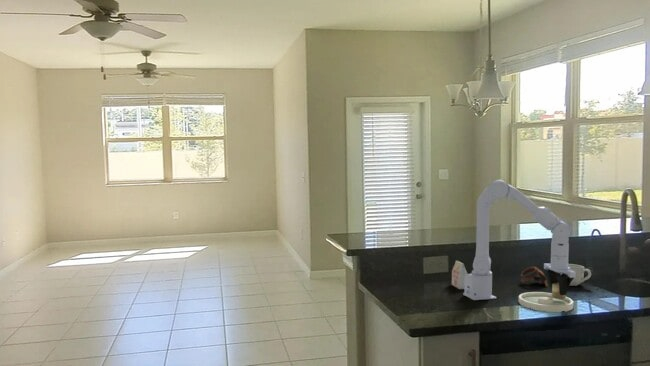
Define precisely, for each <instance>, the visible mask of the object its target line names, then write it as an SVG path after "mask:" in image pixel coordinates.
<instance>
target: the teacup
mask: <svg viewBox="0 0 650 366" xmlns="http://www.w3.org/2000/svg"><path fill="white" fill-rule="evenodd" d="M568 267H570V269H571V270H572V271H574V272H576V277H575V278H574V279H573V280H572V281H571V283H570V285H569V287H570V286H575V287H576V286H577V287H578V286H579V285H580V284H582V283H584V282H585V281H586V280H587V281H588V280H589V279H590V278H591V276H592V272H591V270H590V269H589V268H585V266H583V265H580V264H574V263H568ZM585 272H587V276H585V277H584V274H585ZM561 275H562V274H561Z"/></svg>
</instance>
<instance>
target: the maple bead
mask: <svg viewBox="0 0 650 366" xmlns="http://www.w3.org/2000/svg"><path fill="white" fill-rule="evenodd" d="M551 293H552V297H554V298H558V299H564V298H565V297H566V295H560V292H559V282H558V283H553V284H552V291H551Z"/></svg>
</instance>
